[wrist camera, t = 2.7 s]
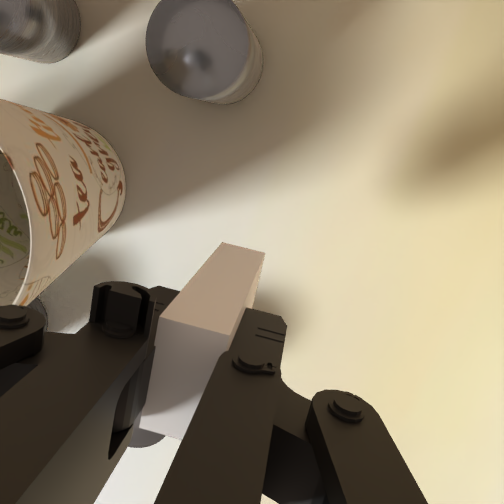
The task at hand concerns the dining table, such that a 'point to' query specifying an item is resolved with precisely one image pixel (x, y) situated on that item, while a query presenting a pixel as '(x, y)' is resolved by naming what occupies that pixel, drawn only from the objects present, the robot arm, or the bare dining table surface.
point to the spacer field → (160, 57)
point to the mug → (51, 197)
